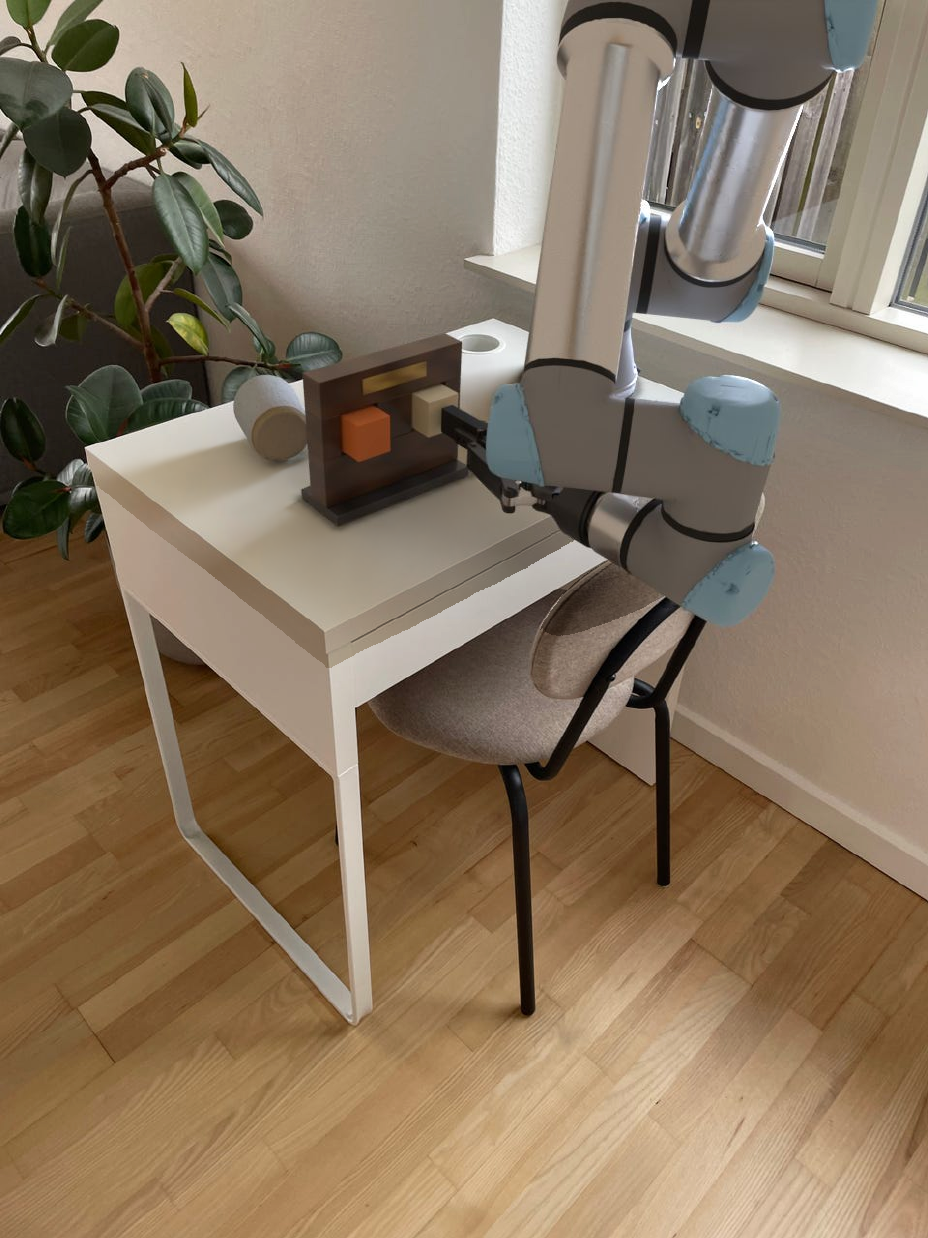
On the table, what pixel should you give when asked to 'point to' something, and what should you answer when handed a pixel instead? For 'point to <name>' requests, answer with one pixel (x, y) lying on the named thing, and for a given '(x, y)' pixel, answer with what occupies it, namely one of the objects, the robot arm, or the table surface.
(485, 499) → the table surface
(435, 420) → the beige key
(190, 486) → the table surface
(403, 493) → the brown wooden upright panel
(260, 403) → the ceramic mug
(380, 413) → the orange key
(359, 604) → the table surface
